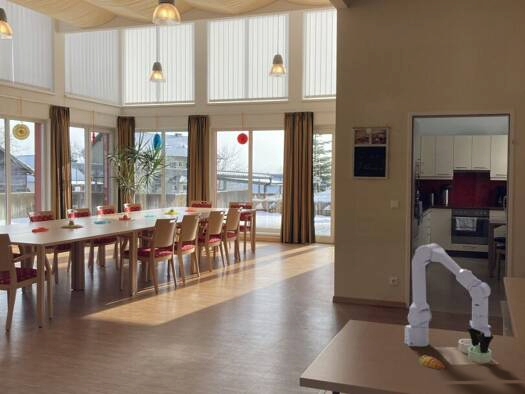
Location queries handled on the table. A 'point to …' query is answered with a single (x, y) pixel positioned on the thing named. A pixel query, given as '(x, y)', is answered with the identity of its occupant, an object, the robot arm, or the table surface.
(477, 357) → the cup green
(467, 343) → the cup grey
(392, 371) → the table surface
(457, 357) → the board
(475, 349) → the ball
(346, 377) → the table surface
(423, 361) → the pastry
